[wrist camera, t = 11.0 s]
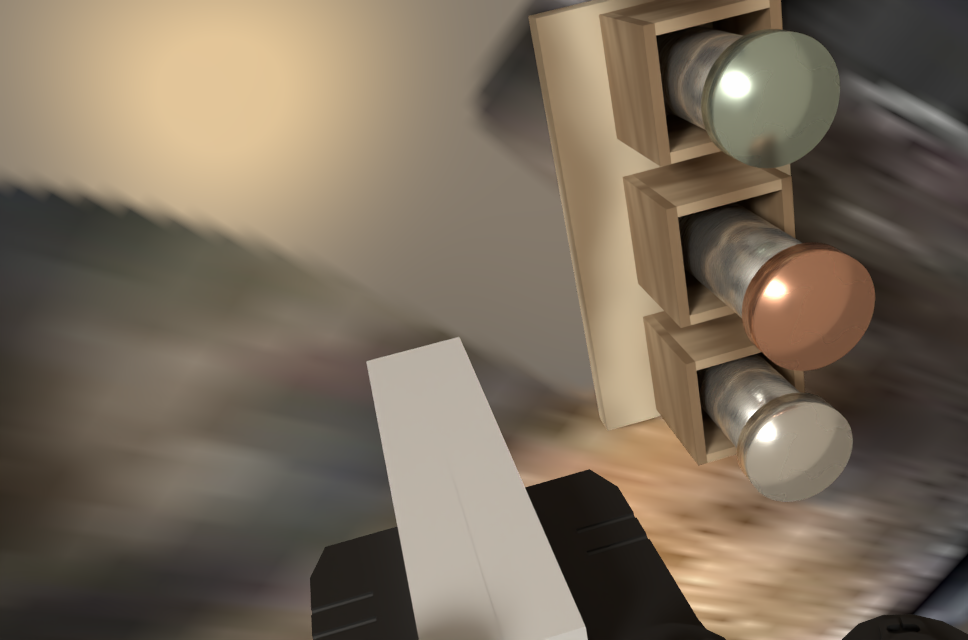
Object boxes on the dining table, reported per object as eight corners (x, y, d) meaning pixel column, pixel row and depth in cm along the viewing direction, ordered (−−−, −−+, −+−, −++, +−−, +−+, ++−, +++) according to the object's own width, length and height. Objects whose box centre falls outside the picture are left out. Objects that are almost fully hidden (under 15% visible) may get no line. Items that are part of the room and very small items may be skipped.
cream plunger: (670, 408, 50) (752, 514, 41) (659, 329, 48) (744, 423, 39) (753, 384, 50) (854, 484, 41) (746, 305, 48) (850, 392, 39)
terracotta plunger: (666, 293, 45) (760, 385, 36) (653, 199, 43) (750, 271, 33) (759, 267, 45) (876, 351, 36) (751, 173, 43) (873, 237, 34)
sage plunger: (631, 130, 43) (720, 182, 34) (617, 24, 41) (707, 50, 32) (728, 105, 44) (842, 150, 34) (719, -1, 41) (837, 17, 32)
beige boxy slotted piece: (599, 418, 52) (644, 489, 46) (528, 16, 43) (570, 30, 36) (790, 363, 53) (861, 425, 47) (762, -41, 44) (847, -38, 37)
